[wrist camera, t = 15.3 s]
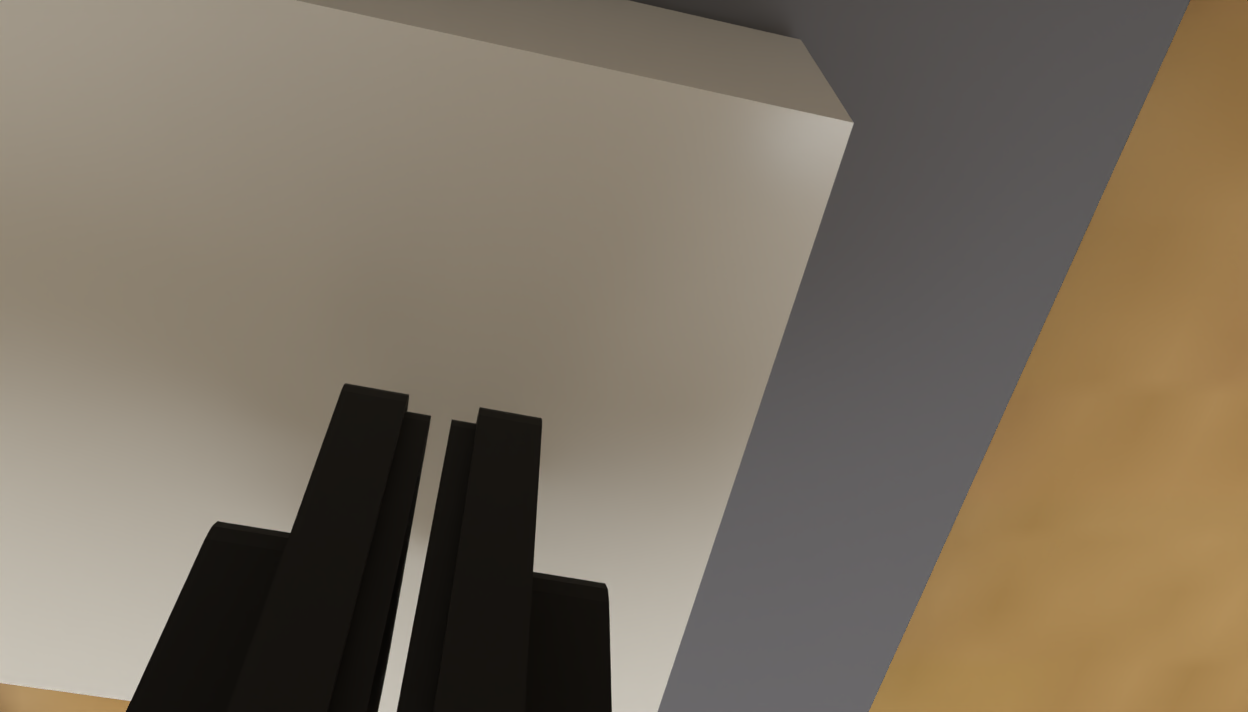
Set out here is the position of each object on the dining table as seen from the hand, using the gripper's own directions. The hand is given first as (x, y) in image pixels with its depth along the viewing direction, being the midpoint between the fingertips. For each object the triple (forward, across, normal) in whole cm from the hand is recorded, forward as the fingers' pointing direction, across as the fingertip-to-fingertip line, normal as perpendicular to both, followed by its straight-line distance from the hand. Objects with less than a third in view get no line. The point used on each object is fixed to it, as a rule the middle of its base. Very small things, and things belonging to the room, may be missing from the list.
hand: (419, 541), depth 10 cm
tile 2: (+3, -3, 0) cm, 4 cm away
